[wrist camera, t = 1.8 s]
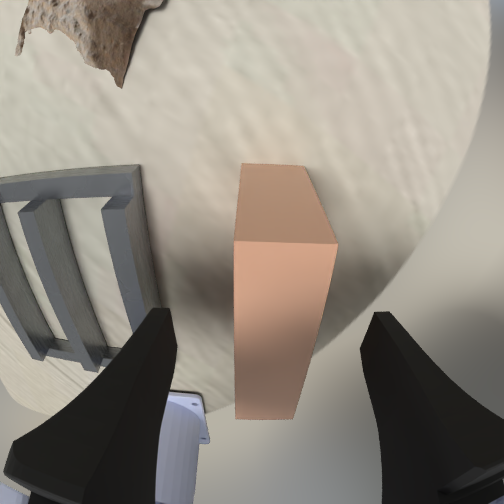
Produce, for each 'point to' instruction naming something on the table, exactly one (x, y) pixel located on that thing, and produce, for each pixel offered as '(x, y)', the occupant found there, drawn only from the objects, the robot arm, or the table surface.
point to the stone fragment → (91, 28)
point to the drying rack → (64, 263)
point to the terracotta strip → (277, 287)
